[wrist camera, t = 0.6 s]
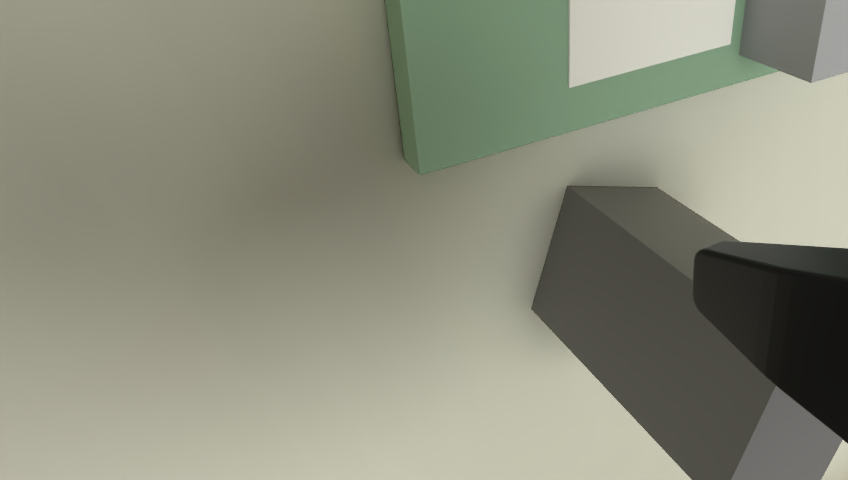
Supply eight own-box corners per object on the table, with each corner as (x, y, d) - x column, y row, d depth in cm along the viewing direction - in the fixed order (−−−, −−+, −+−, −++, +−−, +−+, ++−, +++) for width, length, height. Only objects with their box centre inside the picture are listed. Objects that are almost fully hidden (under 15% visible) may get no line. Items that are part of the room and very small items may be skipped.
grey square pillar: (531, 308, 29) (718, 507, 21) (567, 186, 27) (790, 355, 19) (616, 303, 31) (818, 484, 23) (656, 187, 28) (895, 342, 21)
